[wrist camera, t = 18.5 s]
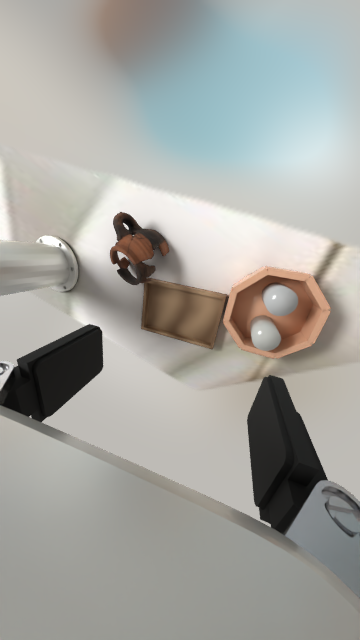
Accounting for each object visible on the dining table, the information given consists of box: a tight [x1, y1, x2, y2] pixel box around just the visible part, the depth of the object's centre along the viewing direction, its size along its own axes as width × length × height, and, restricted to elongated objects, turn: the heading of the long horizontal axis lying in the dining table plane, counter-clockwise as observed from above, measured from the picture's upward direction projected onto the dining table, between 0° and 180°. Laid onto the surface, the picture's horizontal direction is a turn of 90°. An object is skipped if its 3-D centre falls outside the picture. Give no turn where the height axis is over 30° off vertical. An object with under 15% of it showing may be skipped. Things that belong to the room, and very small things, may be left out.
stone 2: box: [250, 315, 281, 351], centre depth 29 cm, size 4×4×6 cm
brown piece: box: [110, 212, 169, 285], centre depth 32 cm, size 12×10×8 cm
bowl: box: [223, 266, 331, 359], centre depth 29 cm, size 14×14×4 cm
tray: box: [141, 278, 227, 349], centre depth 36 cm, size 16×11×2 cm
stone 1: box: [261, 282, 298, 316], centre depth 27 cm, size 4×4×6 cm
